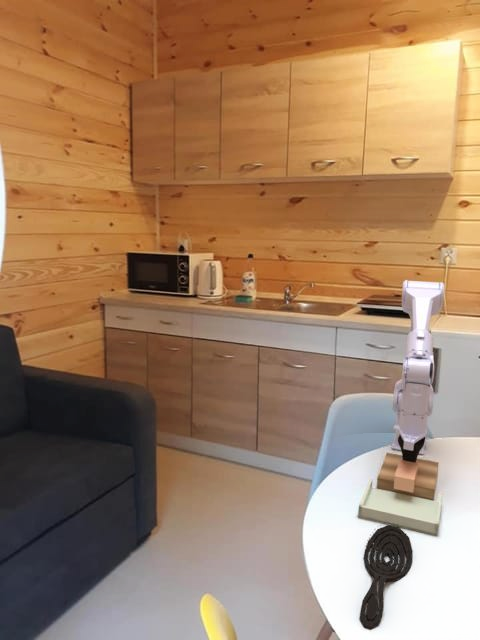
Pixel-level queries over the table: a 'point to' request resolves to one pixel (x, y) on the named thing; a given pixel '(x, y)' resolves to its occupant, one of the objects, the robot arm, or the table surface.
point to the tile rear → (408, 466)
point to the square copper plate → (423, 482)
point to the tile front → (404, 479)
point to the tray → (400, 510)
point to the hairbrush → (384, 569)
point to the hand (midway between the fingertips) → (408, 467)
